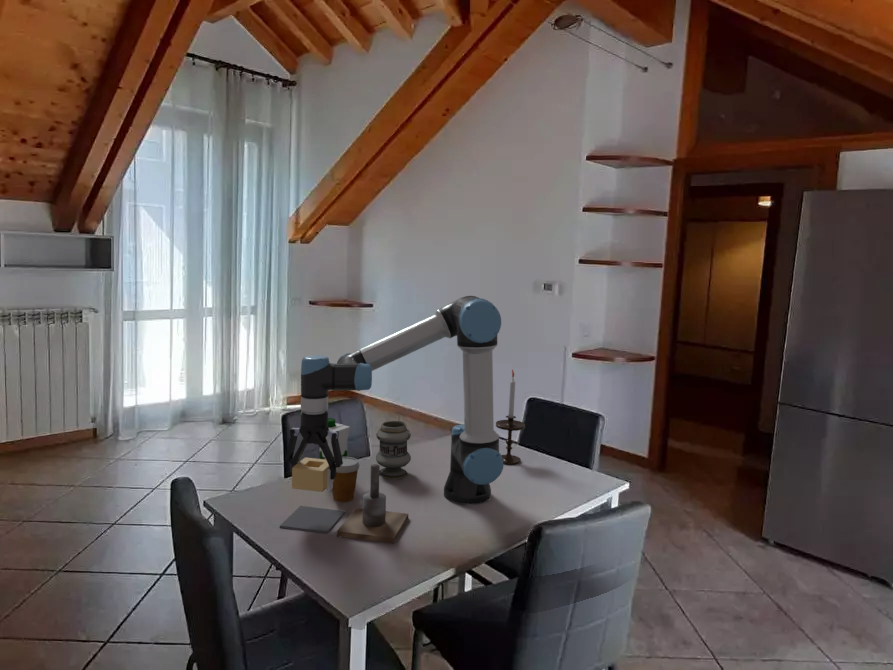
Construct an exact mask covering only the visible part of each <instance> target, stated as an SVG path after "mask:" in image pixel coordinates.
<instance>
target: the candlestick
mask: <svg viewBox="0 0 893 670" xmlns="http://www.w3.org/2000/svg"><path fill="white" fill-rule="evenodd" d="M511 372H512V373H511V377H512V379H511V380H510V382H509V397H508V415H505V418H507V419H500V420H496V422H495V427H496V428H497V429H500V430H503V431H507V439H506V440H505V444H506V447H505V449H506V450H507V451H506V454H501V456H502V459H503V466H504V465H505V466H506V465H507V466H517V465H519V464H521V461H522V460H521V458H520V457H519V456H516V455H512V453H511V452H512V450H513V447H512V445H513V444H514V441H513V440H512V437H513V436H512V435H513V434H512V433H513V432H514V431H515V432H517V431H523V430H525V428H526V424H525V422H523V421H520V420H515V419H516V418H517V416H515V415H514V412H515V411H514V410H515V397H516V395H515V393H516V392H515V391H516V381H515V378H514V377H515V372H514V369H512V370H511Z"/></svg>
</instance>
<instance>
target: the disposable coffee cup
mask: <svg viewBox="0 0 893 670" xmlns="http://www.w3.org/2000/svg"><path fill="white" fill-rule="evenodd" d="M342 460H343V464H342V465H341V466H340V467H339V468H338V467H337V468H336V478H335V479H334V481H333V488H332V489H331V491H332V497H333V501H335V502H337V503H338V502H339V503H347V502H352V501H353V500H354V498H355V493H356V485H357V484H356V483H357V478H358V470H359V468H360V463H359V460H358V459H357V458H355V457H352V456H347V457H342Z"/></svg>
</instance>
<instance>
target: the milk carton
mask: <svg viewBox="0 0 893 670" xmlns="http://www.w3.org/2000/svg"><path fill="white" fill-rule="evenodd" d="M350 428H351V427H350V426H349V425H345V424H343V423H342V424H341V423H337V422H336V419H335V418H333V417H328V429H329V431H333V432H335V431H338V432H339V436H338V441H339V446H340V451H341V456H342V457H348V439H349V435H350V434H349V433H350V431H351V429H350ZM326 440H327V442H328V446H329V448H330V450H331V452H332V454H333V449H332V444H331V439H330V437H329V435H327V437H326ZM333 457H334V454H333ZM319 459H325V460H326V458H325V456H324V454H323V452H322V449H321V448H320V447H319Z"/></svg>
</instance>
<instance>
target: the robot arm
mask: <svg viewBox="0 0 893 670" xmlns="http://www.w3.org/2000/svg"><path fill="white" fill-rule="evenodd" d="M501 317H502V316H501V313H500V311H499V309H498V308H497V307H496V306H495V305H494V304H493V303H492V302H491V301H489V300H487V299H485V298H481V297H478V296H475V295H465V296H463V297H460V298H458V299H456V300H454V301H452V302H450V303H448V304H447V305H445V306H442V307H440V308H438V309H437V310H436V312H435V314H433V315H431V316H429V317H427V318H424V319H422V320H420V321H418V322H415V323H414V324H411V325H410V326H408V327H405V328H403V329H401V330H399V331H397V332H395V333H392V334H390V335H388V336H386V337H383V338H381V339H379V340H377V341H375V342H373V343H371V344H369V345H366V346H364V347H362V348H360V349H358V350H355V351H353V352H352V353H351V352H348V353H345V354H342V355H341V356H339V358H338V360H337V362H336V363H331V362H330V359H329V357H328V356H327V355H319V354H311V355H310V354H309V355H306V356H304V357H303V358H302V359H301V366H300V367H301V368H300V410H301V412H300V427H296V426H294V427H292V428H291V429H290V430H289V441H288V445H287V449H286V455H285V457H284V461H285V462H286V463H290V465H291V469H292V468H293V467H294V466H295V465H296V464H298V463H299V462H300V459H301V457H302V455H303V453H304V451H305V449H306V447H307V445H308V444H309V445H313V444H314V445H318V447H319V449H320V448H321V449H322V452H323V454H324V456H325V458H326V460H327V462H328V465H329V468H328V469H327V488H326V492H329V493H330V491H332V488H333V480H334V479H335V478H336V468H337V467H338V468H339V467H340V466H341V465H342V464H343V460H342V456H341V451H340V446H339V441H338V436H339V432H338V431H335V432H333V431H329V429H328V418H329V412H328V411H329V410H328V409H329V391H358V392H361V391H369V390H370V389H371V388H372V383H373V372H374V371H375V370H378V369H379V368H382V367H384V366H386V365H388V364H390V363H393V362H395V361H396V360H399V359H401V358H403V357H406V356H407V355H410V354H412V353H413V352H416V351H418V350H421V349H422V348H424V347H425V348H426V346H429V345H431V344H434V343H435V342H437V341H439V340H442V339H445V338H448V339H452V338H454V337H456V343H457V344H456V346H457V347H458V348H459V349H460V350H461V351H462V374H463V375H462V381H463V384H462V385H463V413H464V414H463V418H464V423H462V424H457V425H454V426H453V427H452V429H451V434H450V438H451V441H450V463H449V464H450V468H449V473H448V476H447V478H446V481H445V484H444V486H443V496H444V498H446V499H447V500H448V501H450V502H452V503H456V504H461V505H462V504H463V505H478V504H483V503H486V502H488V501H489V500H490V499H491V497H492V488H491V485H490V484H491V483H493V482H495V481H496V480H497V479H498V478H499V477H500V476H501V474H502V472H503V469H504V464H503V459H502V456H501V455H502V453H500V435H499V434H498V433H497V432H496V431H495V430H494V429H495V428H494V423H495V422H494V379H493V378H494V377H493V374H494V372H493V371H494V369H493V365H494V364H493V351H494V350H495V348H496V347H497V346H498V334H499V333H500V330H501V327H502V318H501ZM299 435H301V437H302V439H301V441H300V444H299V446H298V448H297V449H296V445H297V441H298V436H299ZM327 435H329V437H330V439H331V444H332V449H333V454H334V457H333V454H332V452H331V450H330V448H329V446H328V442H327V440H326V437H327ZM295 449H296V452H295ZM294 453H295V454H294Z"/></svg>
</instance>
